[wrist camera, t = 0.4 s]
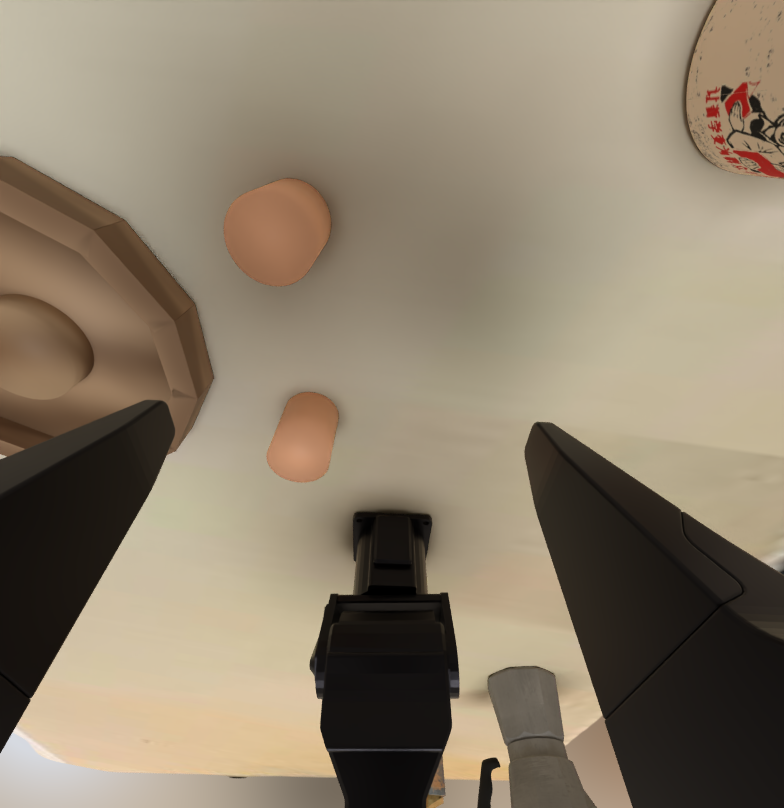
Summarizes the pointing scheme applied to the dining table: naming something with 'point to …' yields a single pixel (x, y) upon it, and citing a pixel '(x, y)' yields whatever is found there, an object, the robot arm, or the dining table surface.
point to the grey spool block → (437, 788)
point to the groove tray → (86, 317)
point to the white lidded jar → (740, 88)
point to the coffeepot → (532, 743)
